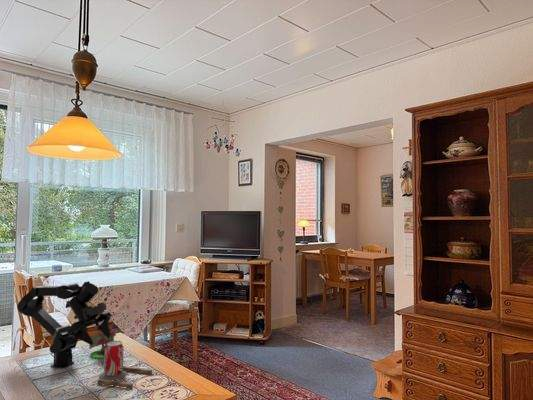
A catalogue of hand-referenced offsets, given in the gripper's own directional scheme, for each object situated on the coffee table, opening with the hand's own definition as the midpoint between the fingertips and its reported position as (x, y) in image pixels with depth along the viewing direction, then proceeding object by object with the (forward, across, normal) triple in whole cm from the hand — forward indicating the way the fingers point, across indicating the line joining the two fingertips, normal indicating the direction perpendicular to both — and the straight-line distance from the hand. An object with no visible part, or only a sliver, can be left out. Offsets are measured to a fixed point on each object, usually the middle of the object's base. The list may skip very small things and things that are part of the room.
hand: (101, 340), depth 152 cm
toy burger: (0, +17, +19) cm, 25 cm away
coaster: (+14, 0, +4) cm, 14 cm away
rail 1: (+19, -7, -2) cm, 20 cm away
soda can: (+14, 0, +4) cm, 14 cm away
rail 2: (+18, +6, 0) cm, 19 cm away
